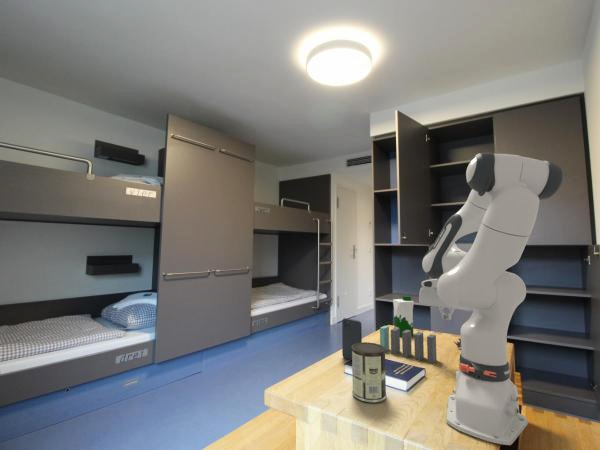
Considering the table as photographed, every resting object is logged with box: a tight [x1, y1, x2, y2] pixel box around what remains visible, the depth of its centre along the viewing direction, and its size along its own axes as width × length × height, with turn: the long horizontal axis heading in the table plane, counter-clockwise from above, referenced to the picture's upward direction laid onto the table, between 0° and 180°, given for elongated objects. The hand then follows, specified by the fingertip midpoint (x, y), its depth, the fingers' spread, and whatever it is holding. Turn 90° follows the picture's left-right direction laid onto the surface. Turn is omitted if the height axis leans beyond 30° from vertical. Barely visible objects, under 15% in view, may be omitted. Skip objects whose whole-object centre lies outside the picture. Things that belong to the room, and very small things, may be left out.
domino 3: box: [401, 330, 413, 359], centre depth 124 cm, size 2×5×10 cm, turn 140°
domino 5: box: [426, 333, 437, 365], centre depth 118 cm, size 2×5×10 cm, turn 140°
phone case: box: [341, 317, 363, 361], centre depth 119 cm, size 9×2×16 cm, turn 46°
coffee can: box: [351, 341, 387, 403], centre depth 91 cm, size 10×10×14 cm
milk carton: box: [392, 295, 415, 338], centre depth 154 cm, size 9×9×20 cm
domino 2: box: [390, 327, 401, 356], centre depth 127 cm, size 2×5×10 cm, turn 140°
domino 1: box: [379, 325, 390, 352], centre depth 131 cm, size 2×5×10 cm, turn 140°
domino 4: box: [413, 331, 425, 362], centre depth 121 cm, size 2×5×10 cm, turn 140°
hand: (446, 319), depth 115 cm, fingers closed
